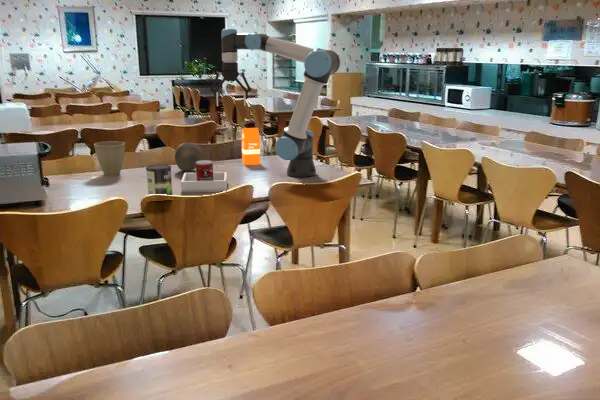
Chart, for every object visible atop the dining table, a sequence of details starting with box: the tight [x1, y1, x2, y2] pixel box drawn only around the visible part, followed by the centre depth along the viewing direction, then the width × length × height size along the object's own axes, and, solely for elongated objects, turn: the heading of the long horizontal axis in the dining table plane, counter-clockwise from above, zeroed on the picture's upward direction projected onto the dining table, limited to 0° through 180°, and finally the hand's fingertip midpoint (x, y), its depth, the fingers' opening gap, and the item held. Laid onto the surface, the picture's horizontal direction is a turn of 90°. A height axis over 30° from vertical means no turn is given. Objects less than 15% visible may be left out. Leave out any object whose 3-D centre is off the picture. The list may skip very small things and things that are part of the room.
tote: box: [180, 171, 228, 193], centre depth 248 cm, size 20×18×5 cm
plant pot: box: [93, 140, 126, 177], centre depth 271 cm, size 15×15×16 cm
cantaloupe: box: [174, 142, 202, 173], centre depth 278 cm, size 14×14×15 cm
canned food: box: [195, 159, 214, 181], centre depth 247 cm, size 8×8×11 cm
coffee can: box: [145, 163, 173, 195], centre depth 228 cm, size 10×10×14 cm
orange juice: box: [241, 127, 261, 166], centre depth 298 cm, size 8×9×20 cm
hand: (231, 105), depth 267 cm, fingers open, 13 cm apart
